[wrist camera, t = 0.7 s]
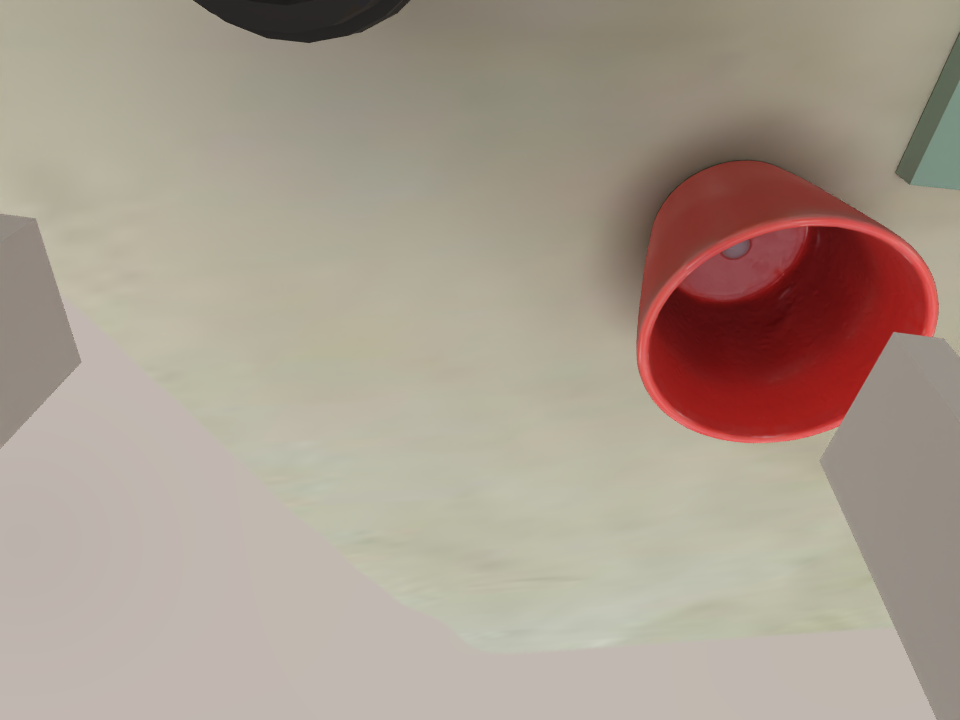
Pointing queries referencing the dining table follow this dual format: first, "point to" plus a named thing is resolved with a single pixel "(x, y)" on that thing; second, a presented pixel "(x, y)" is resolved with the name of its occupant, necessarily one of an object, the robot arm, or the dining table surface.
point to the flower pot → (770, 304)
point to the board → (937, 134)
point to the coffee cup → (303, 16)
